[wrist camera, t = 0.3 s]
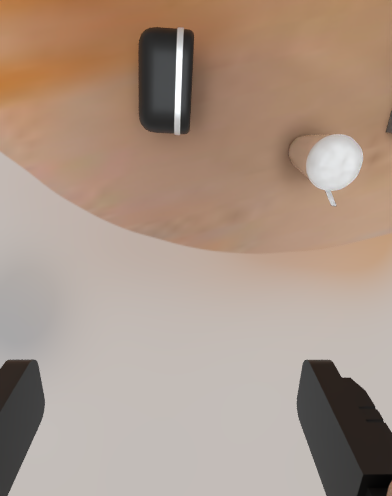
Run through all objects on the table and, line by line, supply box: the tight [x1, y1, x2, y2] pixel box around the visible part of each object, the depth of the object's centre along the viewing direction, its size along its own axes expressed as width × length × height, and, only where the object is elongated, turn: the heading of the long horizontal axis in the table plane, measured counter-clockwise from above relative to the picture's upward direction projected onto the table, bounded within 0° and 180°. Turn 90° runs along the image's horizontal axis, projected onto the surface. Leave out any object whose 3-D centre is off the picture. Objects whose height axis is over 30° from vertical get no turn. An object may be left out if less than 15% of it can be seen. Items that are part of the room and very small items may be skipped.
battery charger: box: [139, 27, 194, 135], centre depth 28 cm, size 7×4×11 cm, turn 177°
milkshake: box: [288, 134, 363, 206], centre depth 32 cm, size 5×5×10 cm
